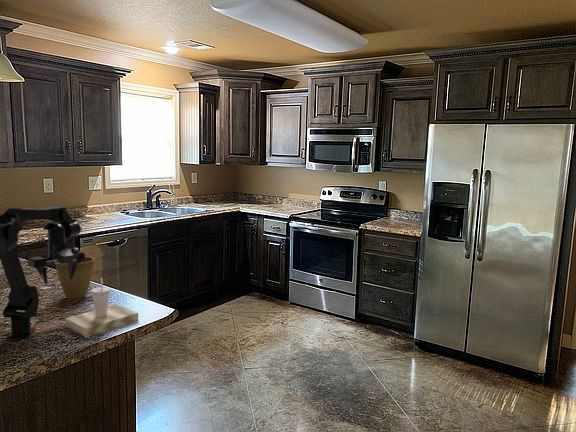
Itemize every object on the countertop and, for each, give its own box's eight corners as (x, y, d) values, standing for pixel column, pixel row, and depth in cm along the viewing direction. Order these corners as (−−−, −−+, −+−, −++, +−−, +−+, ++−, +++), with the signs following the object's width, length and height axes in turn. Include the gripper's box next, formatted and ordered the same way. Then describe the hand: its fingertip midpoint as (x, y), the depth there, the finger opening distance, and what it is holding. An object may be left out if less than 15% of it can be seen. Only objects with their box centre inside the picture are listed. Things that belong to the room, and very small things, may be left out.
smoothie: (103, 319, 156) (102, 280, 154) (87, 317, 157) (86, 279, 155) (114, 313, 162) (113, 276, 160) (98, 311, 163) (97, 274, 162)
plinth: (86, 337, 148) (86, 328, 148) (65, 326, 156) (65, 318, 156) (138, 320, 164) (138, 312, 163) (116, 311, 172) (116, 304, 172)
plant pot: (102, 295, 191) (101, 259, 189) (68, 304, 178) (67, 266, 176) (82, 288, 199) (81, 254, 197) (49, 297, 187) (47, 260, 184)
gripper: (40, 247, 151) (42, 291, 153) (92, 240, 166) (93, 280, 168) (26, 242, 158) (28, 285, 160) (77, 236, 173) (78, 274, 175)
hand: (58, 281), depth 165 cm, fingers open, 9 cm apart
